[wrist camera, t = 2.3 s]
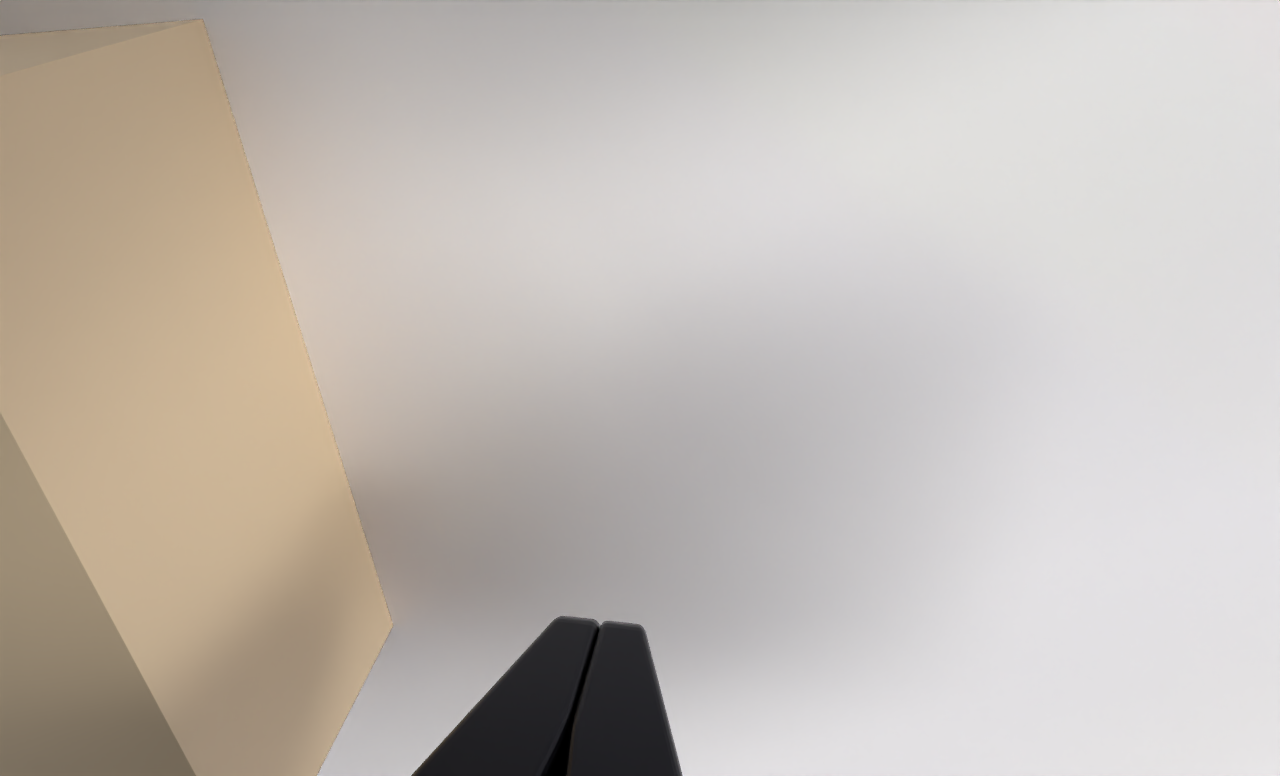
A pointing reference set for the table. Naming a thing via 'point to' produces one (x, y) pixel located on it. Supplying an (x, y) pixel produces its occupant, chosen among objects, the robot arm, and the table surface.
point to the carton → (160, 435)
